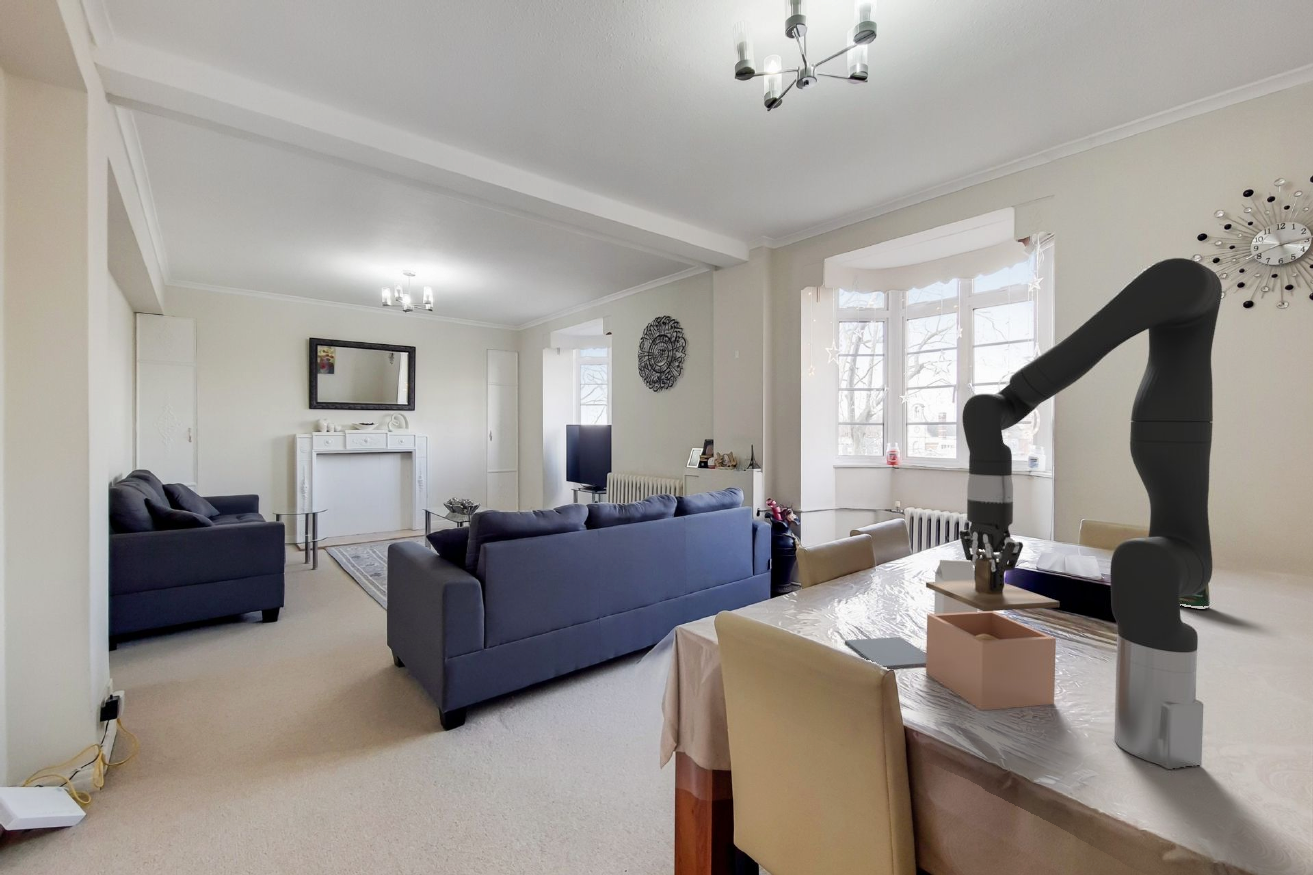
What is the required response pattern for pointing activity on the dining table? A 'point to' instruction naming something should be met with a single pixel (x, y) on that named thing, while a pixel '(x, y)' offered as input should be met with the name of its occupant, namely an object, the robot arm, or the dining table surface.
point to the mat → (889, 652)
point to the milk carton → (952, 572)
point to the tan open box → (991, 659)
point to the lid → (990, 592)
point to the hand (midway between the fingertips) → (988, 587)
